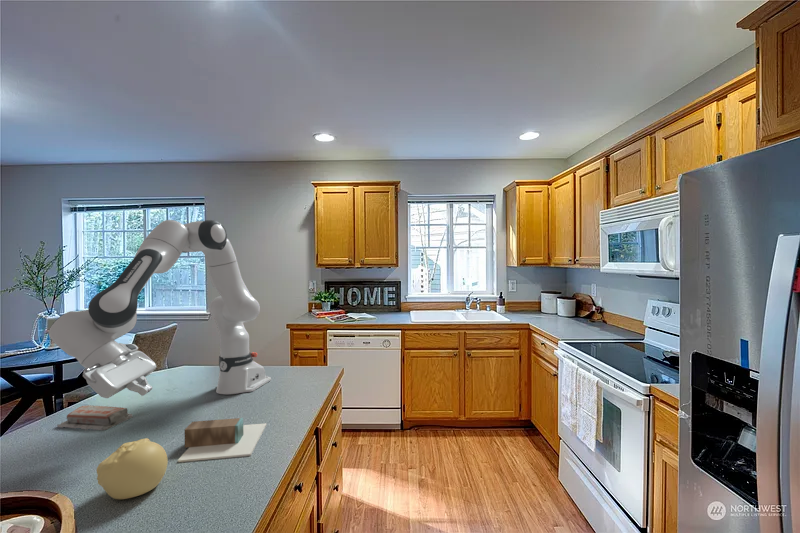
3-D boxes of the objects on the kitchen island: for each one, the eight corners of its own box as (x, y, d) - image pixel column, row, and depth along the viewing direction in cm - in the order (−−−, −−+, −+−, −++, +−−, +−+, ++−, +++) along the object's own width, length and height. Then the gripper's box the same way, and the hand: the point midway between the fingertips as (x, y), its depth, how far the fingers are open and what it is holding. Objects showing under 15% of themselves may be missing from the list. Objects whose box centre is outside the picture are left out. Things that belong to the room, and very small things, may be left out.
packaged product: (134, 404, 116) (104, 416, 106) (134, 418, 116) (104, 432, 106) (89, 401, 119) (56, 413, 109) (89, 415, 119) (56, 428, 109)
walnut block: (184, 429, 95) (237, 425, 97) (192, 421, 100) (243, 417, 102) (184, 447, 95) (238, 443, 97) (192, 438, 100) (243, 434, 102)
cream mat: (177, 462, 89) (177, 460, 89) (206, 429, 106) (206, 428, 106) (250, 455, 91) (250, 453, 91) (266, 424, 109) (266, 423, 109)
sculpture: (130, 474, 84) (130, 430, 84) (178, 474, 83) (178, 430, 83) (86, 507, 72) (85, 456, 72) (141, 507, 72) (140, 456, 72)
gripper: (88, 362, 84) (133, 398, 86) (138, 342, 104) (174, 372, 106) (68, 381, 84) (114, 417, 85) (122, 358, 104) (159, 387, 106)
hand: (148, 392), depth 96 cm, fingers closed
